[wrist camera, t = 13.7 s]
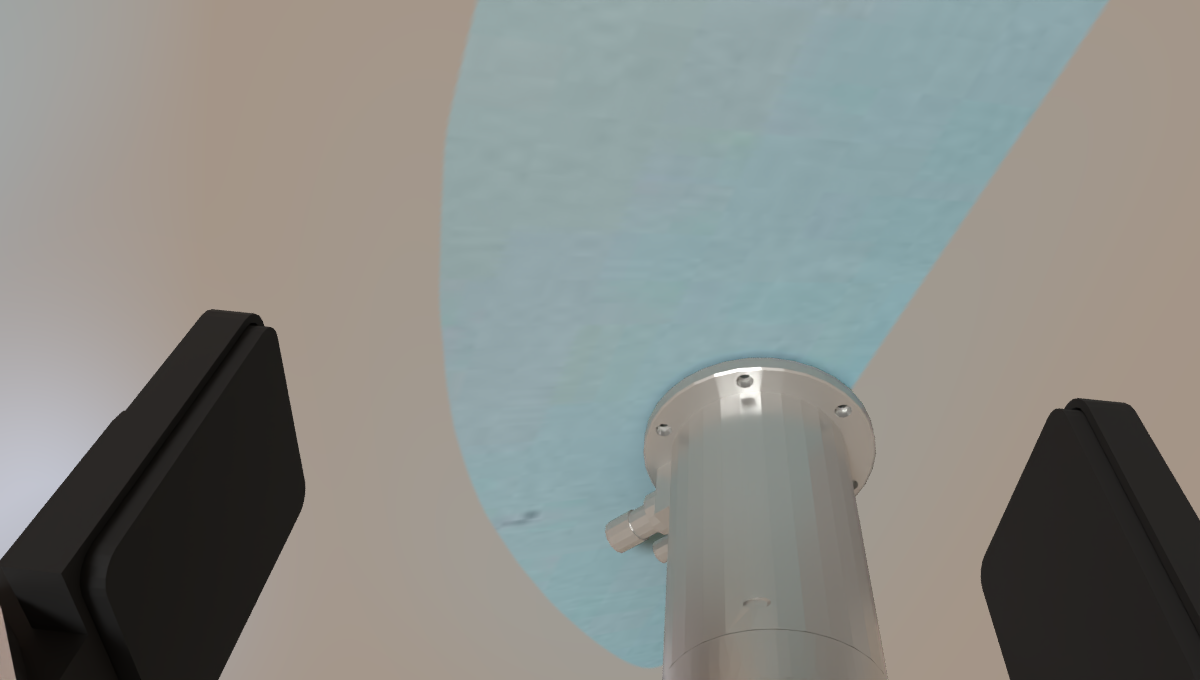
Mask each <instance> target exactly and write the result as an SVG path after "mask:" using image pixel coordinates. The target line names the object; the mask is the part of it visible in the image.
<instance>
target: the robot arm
mask: <svg viewBox="0 0 1200 680" xmlns="http://www.w3.org/2000/svg"><path fill="white" fill-rule="evenodd" d="M875 454H876V450H875V436H874V433H873V428H872V424H871V420H870V418H869V415H868V413H867V412H866V410H865V407H864V405H863V403H862V402H861V401H860V400H859V399H858V398H857V396H856V395H855V394H854V393H853V392H852V390H851V389H849V388H848V387H847V386H846V385H844V384H843V383H842V382H840V381H839V380H838V379H836V378H835V377H833V376H831V375H829V374H827V373H825V372H823V371H821V370H819V369H818V368H815V367H812V366H809V365H806V364H802V363H799V362H796V361H790V360H783V359H776V358H745V359H738V360H732V361H726V362H722V363H719V364H716V365H713V366H710V367H707V368H704V369H702V370H700V371H698V372H696V373H694V374H692V375H690V376H688V377H686V378H684V379H683V380H682V381H680V382H679V383H678V384H676V385H675V386H674V387H672V388H671V389H670V390H669V391H668V392H667V393H666V394H665V395H664V396H663V398H662V399H661V400H660V401H659V402H658V403H657V405H656V407H655V408H654V410H653V412H652V414H651V416H650V418H649V420H648V424H647V428H646V432H645V440H644V459H645V466H646V470H647V472H648V474H649V477H650V479H651V482H652V483H653V485H654V486H655V488H656V490H655V491H654V492H652V493H650V494H649V495H647V496H645V499H644V505H642V506H640V507H639V508H637V509H635V510H630V511H628V512H626V513H624V514H623V515H621V516H619V517H617V518H615V519H614V520H612V521H610V522H609V523H608V524H607V525H606V529H605V533H606V537H607V540H608V541H609V543H610V545H611V546H612V547H613V548H614V549H615V550H616V551H617V552H620V553H623V552H625V551H627V550H629V549H631V548H633V547H634V546H636V545H638V544H640V543H642V542H644V541H646V540H648V538H649V537H650V536H652V535H654V534H656V533H658V532H659V533H661V534H664V535H666V536H664V537H662V538H661V539H659V540H657V541H655V542H654V543H653V552H654V554H655V556H656V558H657V559H658V560H659V561H660V562H662V563H666V562H667V578H666V603H665V627H664V652H663V677H662V680H888V676H887V671H886V665H885V660H884V654H883V648H882V643H881V637H880V632H879V626H878V621H877V615H876V609H875V604H874V598H873V593H872V587H871V582H870V576H869V571H868V566H867V560H866V554H865V549H864V543H863V538H862V532H861V526H860V521H859V516H858V510H857V504H856V499H855V496H856V495H857V494H858V493H859V491H860V490H861V489H862V488H863V486H864V485H865V484H866V482H867V479H868V477H869V475H870V473H871V471H872V469H873V464H874V459H875ZM304 497H305V480H304V475H303V469H302V464H301V459H300V454H299V448H298V443H297V438H296V432H295V427H294V421H293V416H292V411H291V405H290V401H289V396H288V390H287V384H286V379H285V374H284V368H283V363H282V358H281V353H280V348H279V342H278V337H277V334H276V331H275V330H274V329H273V328H271V327H265V326H264V324H263V321H262V320H261V318H260V316H259V315H256V314H253V313H242V312H234V311H224V310H214V309H211V310H207V311H206V312H205V313H204V314H203V315H202V316H201V317H200V318H199V320H198V321H197V322H196V323H195V325H194V326H193V327H192V328H191V329H190V331H189V332H188V333H187V334H186V336H185V337H184V338H183V339H182V341H181V342H180V343H179V344H178V346H177V347H176V348H175V350H174V351H173V352H172V353H171V354H170V356H169V357H168V358H167V359H166V361H165V362H164V363H163V364H162V366H161V367H160V368H159V369H158V371H157V372H156V373H155V375H154V376H153V377H152V378H151V379H150V381H149V382H148V383H147V384H146V386H145V387H144V388H143V389H142V391H141V392H140V393H139V394H138V396H137V397H136V398H135V399H134V401H133V402H132V403H131V404H130V406H129V407H128V408H127V409H126V411H123V412H121V413H120V414H119V415H118V416H117V417H116V418H115V419H114V420H113V421H112V422H111V423H110V425H109V426H108V427H107V429H106V430H105V431H104V432H103V434H102V435H101V436H100V437H99V438H98V440H97V441H96V442H95V443H94V445H93V446H92V447H91V448H90V450H89V451H88V452H87V453H86V454H85V456H84V457H83V458H82V459H81V461H80V462H79V463H78V464H77V466H76V467H75V468H74V469H73V471H72V472H71V473H70V474H69V476H68V477H67V478H66V479H65V481H64V482H63V483H62V484H61V485H60V487H59V488H58V489H57V491H56V492H55V493H54V494H53V495H52V497H51V498H50V499H49V500H48V502H47V503H46V504H45V506H44V507H43V508H42V509H41V510H40V512H39V513H38V514H37V515H36V517H35V518H34V519H33V520H32V522H31V523H30V524H29V525H28V527H27V528H26V529H25V530H24V532H23V533H22V534H21V535H20V536H19V538H18V539H17V540H16V541H15V543H14V544H13V545H12V546H11V548H10V549H9V550H8V551H7V553H6V554H5V555H4V556H3V557H2V559H1V560H0V680H218V679H219V677H220V675H221V673H222V671H223V669H224V667H225V665H226V663H227V661H228V659H229V657H230V655H231V653H232V651H233V649H234V647H235V645H236V643H237V640H238V638H239V636H240V634H241V632H242V630H243V628H244V626H245V624H246V622H247V620H248V618H249V616H250V614H251V612H252V610H253V608H254V606H255V604H256V602H257V600H258V597H259V595H260V593H261V592H262V589H263V587H264V585H265V583H266V581H267V579H268V577H269V575H270V573H271V571H272V569H273V567H274V565H275V563H276V561H277V559H278V557H279V555H280V553H281V551H282V549H283V546H284V544H285V542H286V541H287V538H288V536H289V534H290V532H291V530H292V528H293V526H294V524H295V522H296V520H297V518H298V516H299V514H300V512H301V509H302V506H303V502H304ZM667 534H668V535H667ZM981 584H982V589H983V592H984V596H985V599H986V602H987V605H988V609H989V612H990V615H991V618H992V622H993V625H994V628H995V632H996V635H997V638H998V642H999V644H1000V648H1001V651H1002V655H1003V658H1004V661H1005V664H1006V668H1007V671H1008V674H1009V677H1010V680H1200V520H1199V518H1198V517H1197V515H1196V513H1195V512H1194V510H1193V508H1192V507H1191V505H1190V503H1189V501H1188V500H1187V498H1186V496H1185V495H1184V493H1183V491H1182V490H1181V488H1180V486H1179V484H1178V483H1177V481H1176V479H1175V478H1174V476H1173V474H1172V472H1171V471H1170V469H1169V468H1168V466H1167V464H1166V463H1165V461H1164V459H1163V457H1162V456H1161V454H1160V452H1159V450H1158V449H1157V447H1156V445H1155V444H1154V442H1153V440H1152V439H1151V437H1150V435H1149V434H1148V432H1147V430H1146V429H1145V427H1144V425H1143V423H1142V422H1141V420H1140V418H1139V417H1138V415H1137V413H1136V411H1135V410H1134V409H1133V408H1132V407H1131V406H1130V405H1128V404H1126V403H1121V402H1111V401H1101V400H1091V399H1081V398H1077V399H1073V400H1072V401H1070V402H1069V403H1068V404H1067V405H1066V407H1065V409H1055V410H1053V411H1052V412H1051V413H1050V415H1049V417H1048V419H1047V421H1046V423H1045V425H1044V427H1043V430H1042V432H1041V434H1040V436H1039V438H1038V440H1037V443H1036V445H1035V447H1034V449H1033V451H1032V454H1031V456H1030V458H1029V460H1028V462H1027V465H1026V467H1025V469H1024V471H1023V473H1022V475H1021V477H1020V480H1019V482H1018V484H1017V486H1016V488H1015V491H1014V493H1013V495H1012V497H1011V499H1010V501H1009V503H1008V506H1007V508H1006V510H1005V512H1004V514H1003V517H1002V519H1001V521H1000V523H999V526H998V528H997V530H996V532H995V534H994V536H993V538H992V540H991V543H990V545H989V547H988V549H987V551H986V554H985V556H984V559H983V561H982V567H981Z"/></svg>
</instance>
